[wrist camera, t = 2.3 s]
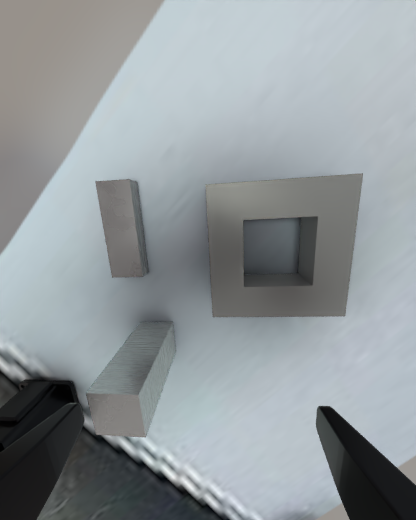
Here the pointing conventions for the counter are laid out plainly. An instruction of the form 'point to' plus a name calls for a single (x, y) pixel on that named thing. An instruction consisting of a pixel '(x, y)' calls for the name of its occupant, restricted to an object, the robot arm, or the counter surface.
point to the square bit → (133, 382)
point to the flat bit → (123, 227)
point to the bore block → (310, 248)
